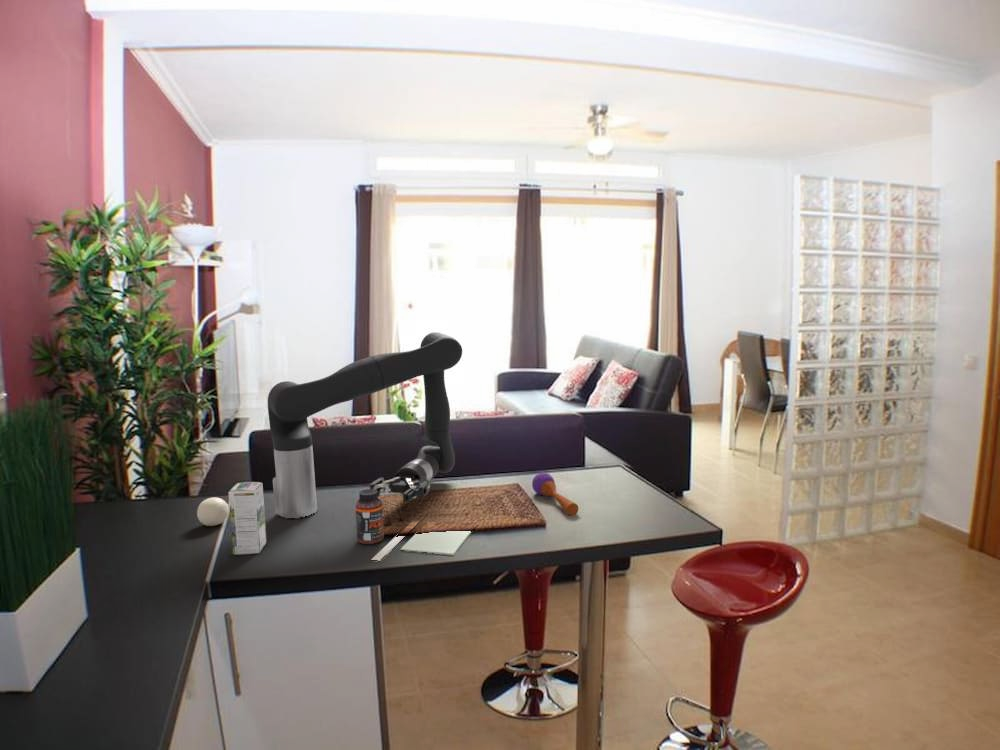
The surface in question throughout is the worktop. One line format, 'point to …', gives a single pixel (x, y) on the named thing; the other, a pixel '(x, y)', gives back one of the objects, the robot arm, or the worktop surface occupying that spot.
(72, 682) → the worktop surface
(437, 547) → the mat
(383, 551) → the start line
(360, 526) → the supplement bottle
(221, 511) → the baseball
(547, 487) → the purple and orange maraca
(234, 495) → the syrup box
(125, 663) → the worktop surface
